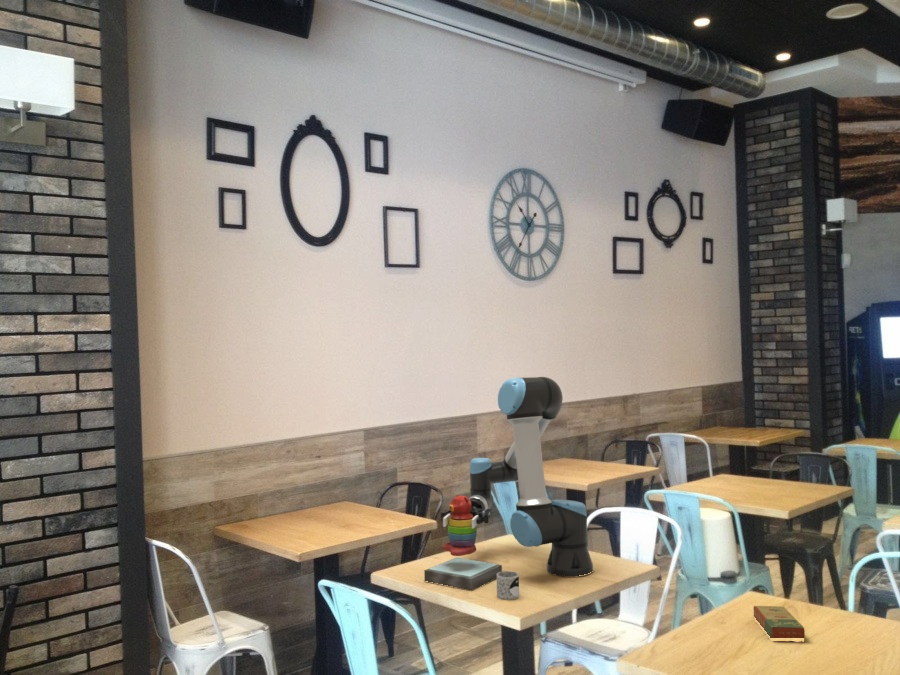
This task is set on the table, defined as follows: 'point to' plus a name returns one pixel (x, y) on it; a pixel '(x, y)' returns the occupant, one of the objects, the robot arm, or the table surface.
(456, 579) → the plinth
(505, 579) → the mug
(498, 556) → the table surface
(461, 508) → the stacking bear
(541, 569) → the table surface
